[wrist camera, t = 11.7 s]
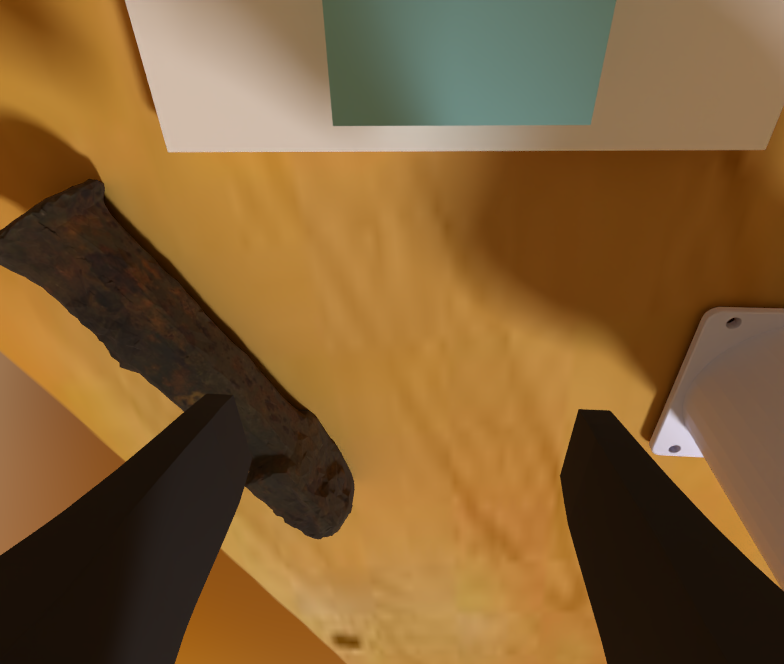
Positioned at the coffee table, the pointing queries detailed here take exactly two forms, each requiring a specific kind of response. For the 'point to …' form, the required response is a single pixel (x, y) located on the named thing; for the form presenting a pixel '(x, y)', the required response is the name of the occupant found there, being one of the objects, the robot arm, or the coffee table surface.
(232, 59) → the board
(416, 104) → the block
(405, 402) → the coffee table surface
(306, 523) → the hand tool
